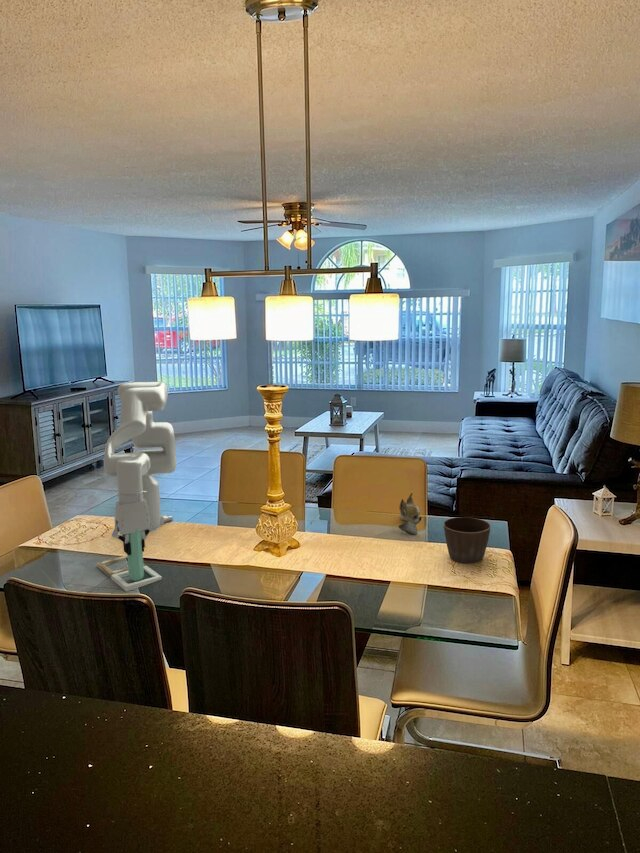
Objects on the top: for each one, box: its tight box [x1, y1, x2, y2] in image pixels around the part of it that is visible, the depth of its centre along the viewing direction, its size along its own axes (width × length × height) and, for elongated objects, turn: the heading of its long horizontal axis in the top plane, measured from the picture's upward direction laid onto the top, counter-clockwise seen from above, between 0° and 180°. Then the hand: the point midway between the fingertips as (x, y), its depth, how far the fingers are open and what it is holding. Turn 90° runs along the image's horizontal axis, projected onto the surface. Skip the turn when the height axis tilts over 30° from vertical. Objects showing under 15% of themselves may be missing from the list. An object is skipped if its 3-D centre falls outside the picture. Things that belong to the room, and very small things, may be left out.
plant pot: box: [443, 516, 492, 565], centre depth 207 cm, size 15×15×16 cm
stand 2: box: [110, 565, 163, 592], centre depth 205 cm, size 12×12×2 cm
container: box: [126, 507, 145, 582], centre depth 203 cm, size 6×6×25 cm
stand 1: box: [96, 555, 146, 579], centre depth 215 cm, size 12×12×2 cm
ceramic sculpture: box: [398, 492, 423, 536], centre depth 242 cm, size 11×9×15 cm
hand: (134, 551), depth 203 cm, fingers open, 3 cm apart
